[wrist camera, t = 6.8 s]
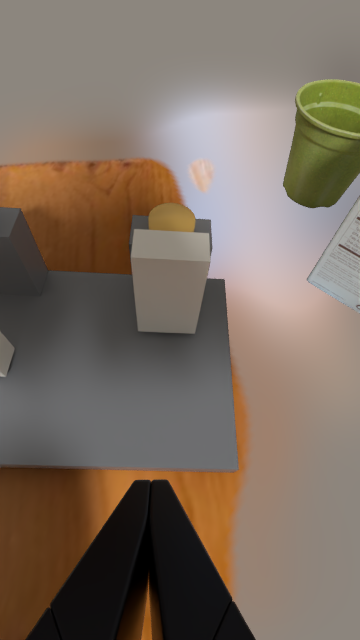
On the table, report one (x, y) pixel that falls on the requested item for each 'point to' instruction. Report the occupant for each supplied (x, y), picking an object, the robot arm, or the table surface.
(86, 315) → the grey holder stand
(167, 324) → the tall white block
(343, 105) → the plant pot
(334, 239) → the supplement box
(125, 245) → the table surface
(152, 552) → the robot arm
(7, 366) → the cream upright block
